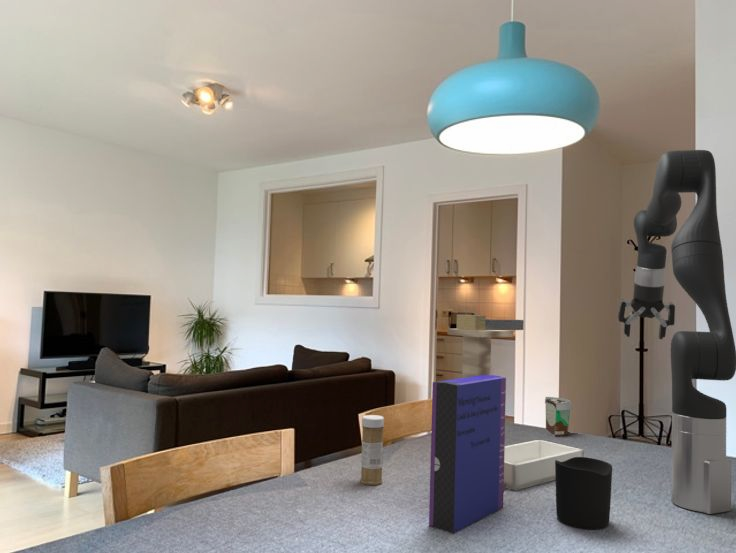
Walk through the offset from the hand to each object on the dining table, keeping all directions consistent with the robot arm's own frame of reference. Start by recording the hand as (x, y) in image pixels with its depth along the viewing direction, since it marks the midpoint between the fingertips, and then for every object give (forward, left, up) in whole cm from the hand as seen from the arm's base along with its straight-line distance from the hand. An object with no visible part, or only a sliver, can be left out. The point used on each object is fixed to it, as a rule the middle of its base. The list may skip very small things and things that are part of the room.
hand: (644, 337), depth 170 cm
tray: (-15, +53, -30) cm, 62 cm away
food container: (+17, +15, -30) cm, 37 cm away
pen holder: (-42, +63, -30) cm, 81 cm away
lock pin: (-18, +64, +2) cm, 67 cm away
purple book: (-34, +81, -30) cm, 92 cm away
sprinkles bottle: (-10, +89, -30) cm, 94 cm away
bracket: (-20, +70, -30) cm, 78 cm away
